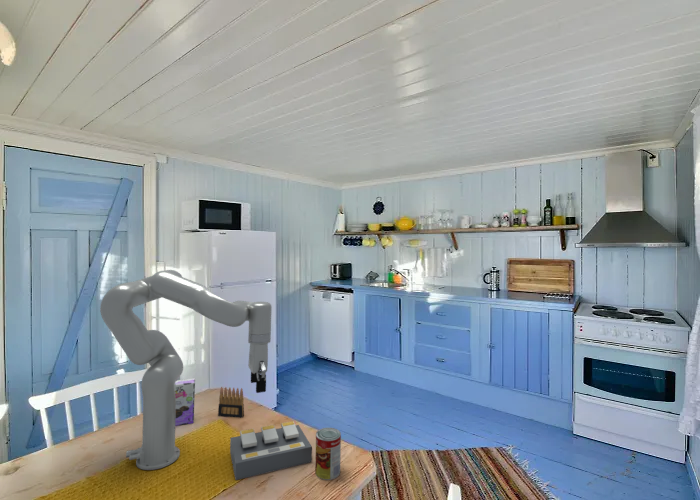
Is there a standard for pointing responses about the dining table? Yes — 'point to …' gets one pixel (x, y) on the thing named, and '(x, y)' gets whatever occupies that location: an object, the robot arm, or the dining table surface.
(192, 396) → the candy box
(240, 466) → the switch unit
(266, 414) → the dining table surface
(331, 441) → the canned food
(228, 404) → the ammunition clip
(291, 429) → the rocker right
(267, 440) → the rocker middle
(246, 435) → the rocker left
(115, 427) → the dining table surface
